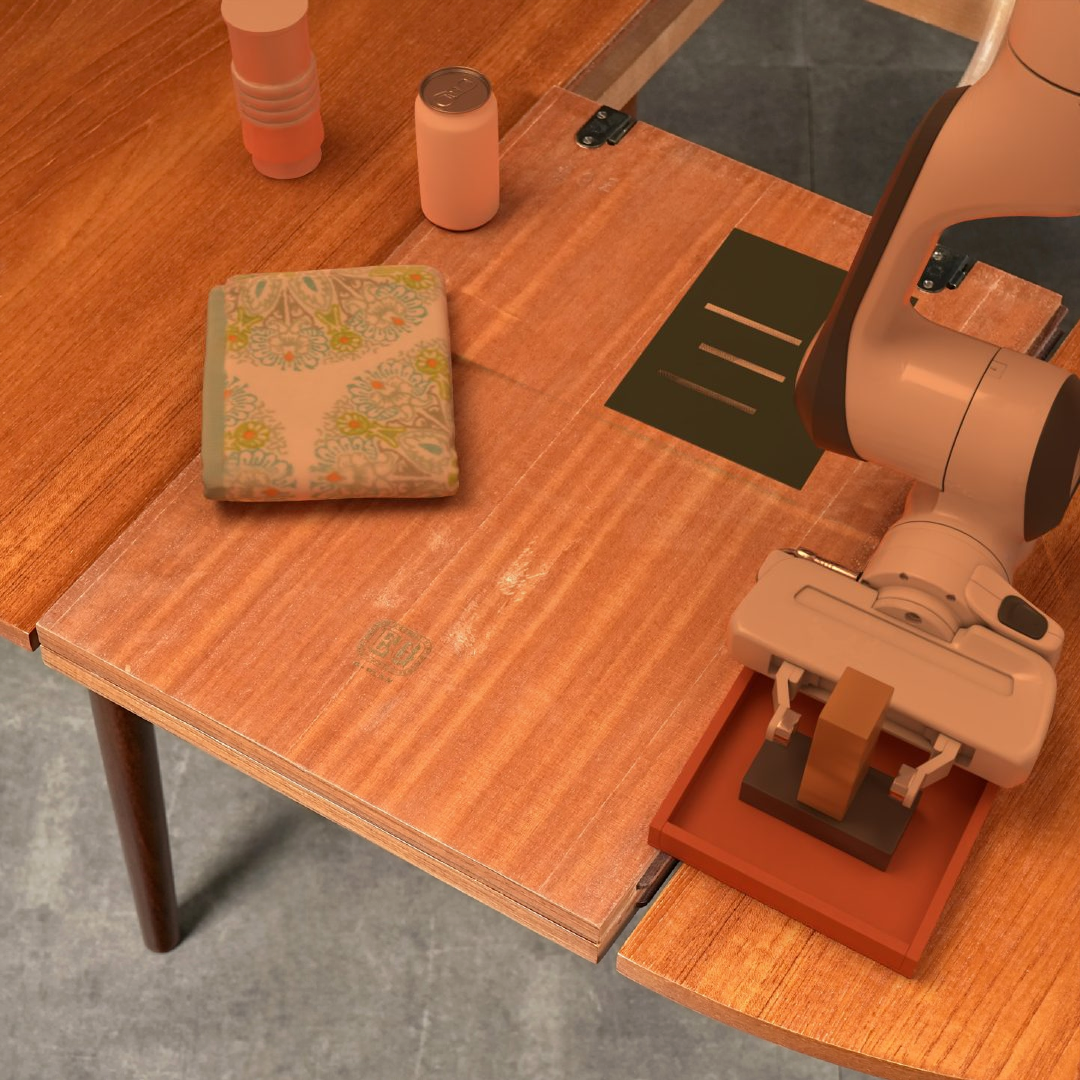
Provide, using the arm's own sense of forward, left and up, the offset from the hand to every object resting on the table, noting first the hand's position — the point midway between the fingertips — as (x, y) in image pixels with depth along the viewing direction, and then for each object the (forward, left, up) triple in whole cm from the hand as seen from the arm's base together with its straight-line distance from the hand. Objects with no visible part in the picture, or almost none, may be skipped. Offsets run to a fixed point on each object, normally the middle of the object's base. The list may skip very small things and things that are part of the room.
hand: (837, 768), depth 101 cm
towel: (+46, -13, -7) cm, 48 cm away
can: (+49, -36, -7) cm, 61 cm away
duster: (0, -1, -6) cm, 6 cm away
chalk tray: (0, -1, -7) cm, 7 cm away
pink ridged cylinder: (+65, -34, -7) cm, 74 cm away
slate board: (+20, -33, -7) cm, 40 cm away
